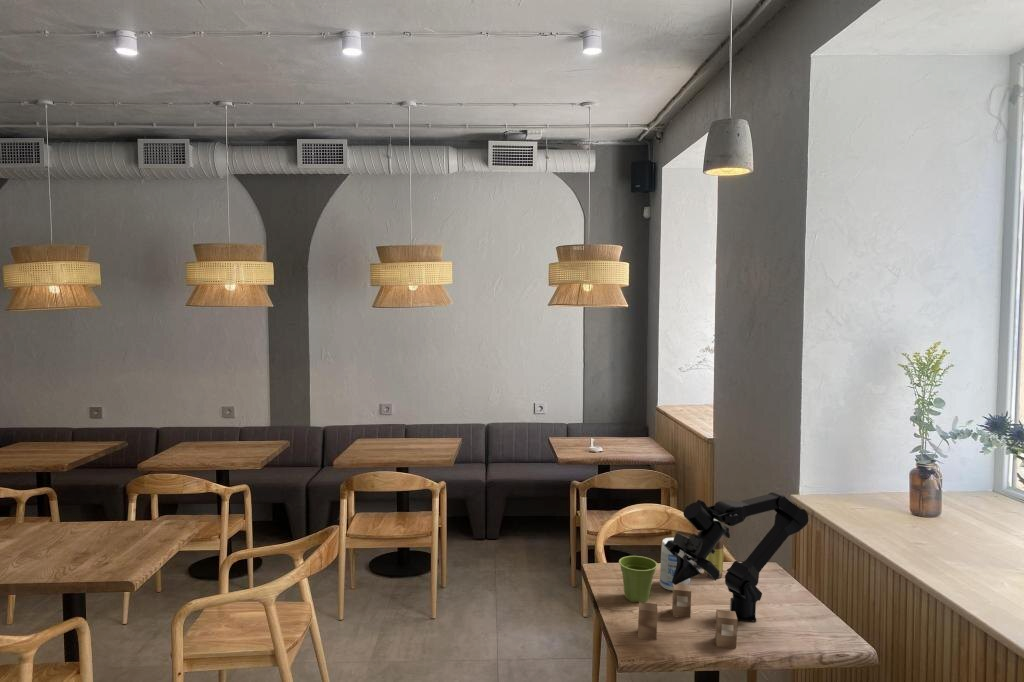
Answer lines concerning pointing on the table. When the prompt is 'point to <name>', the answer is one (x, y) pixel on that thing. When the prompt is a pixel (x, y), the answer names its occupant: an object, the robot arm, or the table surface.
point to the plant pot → (637, 577)
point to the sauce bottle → (717, 556)
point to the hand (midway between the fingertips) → (673, 583)
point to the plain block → (647, 621)
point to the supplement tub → (668, 567)
